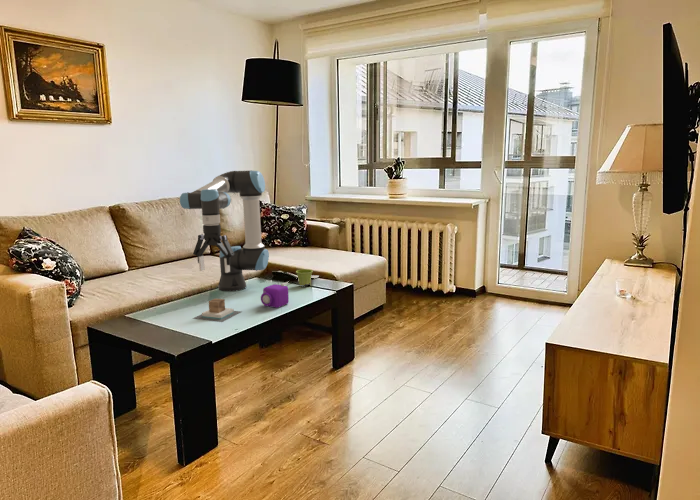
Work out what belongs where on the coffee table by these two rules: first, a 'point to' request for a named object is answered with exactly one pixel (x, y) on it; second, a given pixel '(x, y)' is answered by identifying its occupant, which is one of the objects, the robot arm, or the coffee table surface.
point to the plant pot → (304, 276)
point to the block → (217, 305)
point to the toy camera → (275, 296)
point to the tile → (218, 314)
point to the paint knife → (311, 277)
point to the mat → (217, 319)
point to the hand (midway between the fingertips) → (214, 271)
